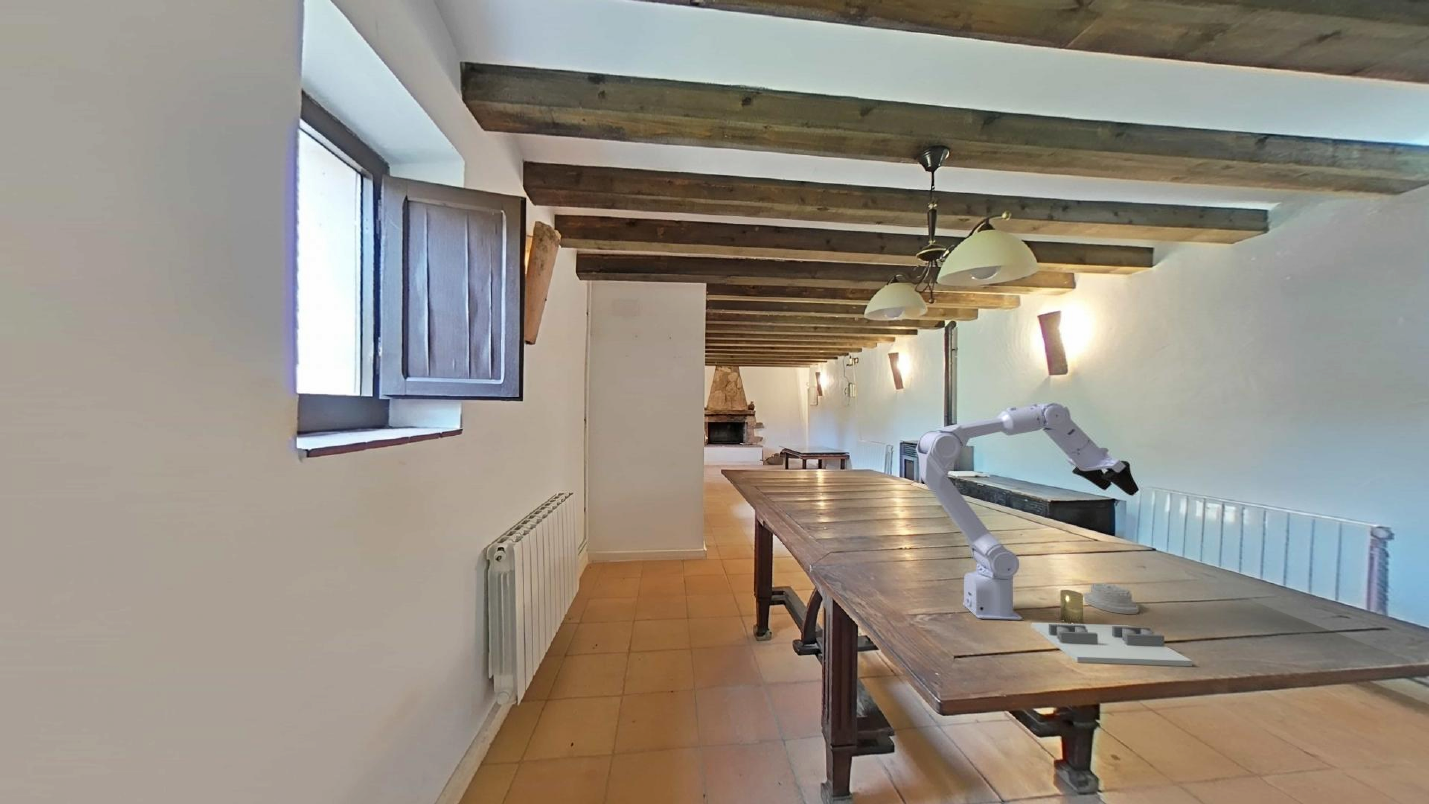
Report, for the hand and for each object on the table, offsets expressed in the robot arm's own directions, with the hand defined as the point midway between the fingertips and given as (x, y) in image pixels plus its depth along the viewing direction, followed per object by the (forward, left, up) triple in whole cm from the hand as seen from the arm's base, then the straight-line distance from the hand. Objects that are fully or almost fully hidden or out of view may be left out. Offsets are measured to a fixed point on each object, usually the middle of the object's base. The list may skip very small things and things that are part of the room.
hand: (1120, 489), depth 107 cm
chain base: (-13, -13, -29) cm, 34 cm away
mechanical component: (+3, +7, -29) cm, 30 cm away
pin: (-12, -2, -29) cm, 31 cm away
